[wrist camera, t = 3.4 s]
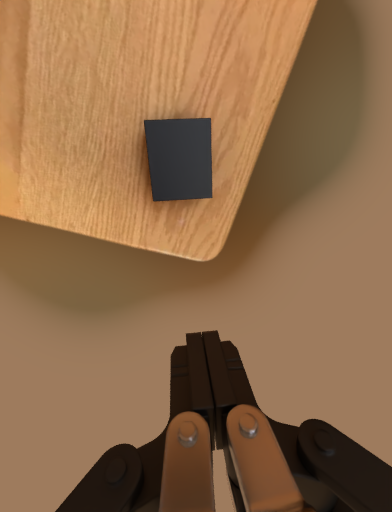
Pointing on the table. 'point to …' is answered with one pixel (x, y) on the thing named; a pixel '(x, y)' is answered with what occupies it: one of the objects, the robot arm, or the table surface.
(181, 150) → the storage box
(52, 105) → the table surface
